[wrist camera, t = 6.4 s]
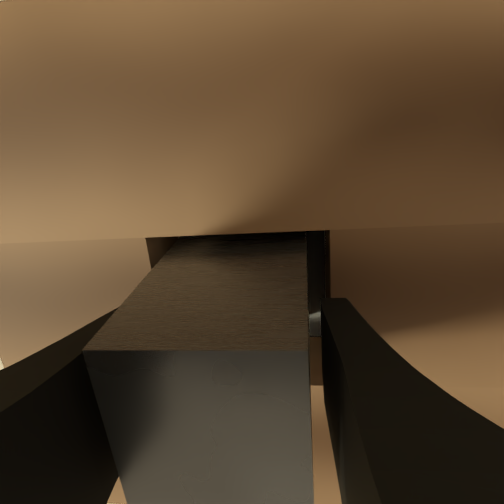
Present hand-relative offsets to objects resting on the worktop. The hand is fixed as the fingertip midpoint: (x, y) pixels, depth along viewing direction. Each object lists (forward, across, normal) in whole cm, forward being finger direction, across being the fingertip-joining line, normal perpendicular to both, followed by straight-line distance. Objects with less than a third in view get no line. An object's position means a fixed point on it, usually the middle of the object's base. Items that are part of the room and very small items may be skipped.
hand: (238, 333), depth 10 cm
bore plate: (+3, 0, 0) cm, 3 cm away
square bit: (+3, 0, 0) cm, 4 cm away
